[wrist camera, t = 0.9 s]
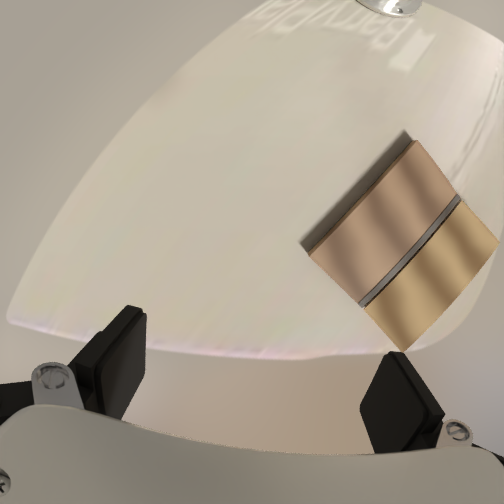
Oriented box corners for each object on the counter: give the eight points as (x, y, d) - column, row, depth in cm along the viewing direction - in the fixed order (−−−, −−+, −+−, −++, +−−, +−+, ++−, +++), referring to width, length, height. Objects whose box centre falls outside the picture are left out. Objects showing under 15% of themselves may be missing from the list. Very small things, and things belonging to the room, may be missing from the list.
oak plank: (459, 203, 34) (461, 200, 32) (496, 244, 31) (500, 242, 29) (364, 308, 38) (363, 309, 36) (401, 350, 35) (402, 353, 34)
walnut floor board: (412, 141, 32) (417, 140, 31) (454, 197, 34) (460, 198, 32) (307, 253, 36) (309, 256, 35) (358, 303, 38) (362, 308, 36)
